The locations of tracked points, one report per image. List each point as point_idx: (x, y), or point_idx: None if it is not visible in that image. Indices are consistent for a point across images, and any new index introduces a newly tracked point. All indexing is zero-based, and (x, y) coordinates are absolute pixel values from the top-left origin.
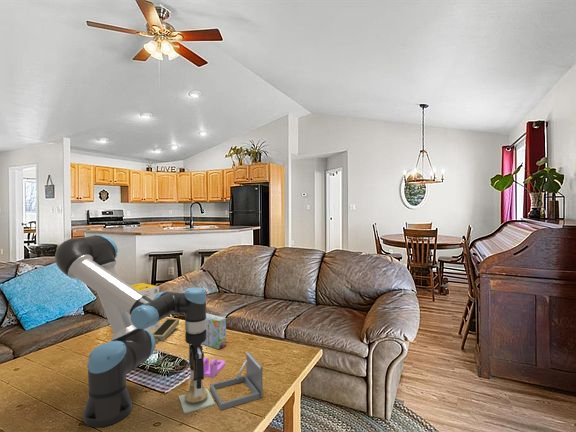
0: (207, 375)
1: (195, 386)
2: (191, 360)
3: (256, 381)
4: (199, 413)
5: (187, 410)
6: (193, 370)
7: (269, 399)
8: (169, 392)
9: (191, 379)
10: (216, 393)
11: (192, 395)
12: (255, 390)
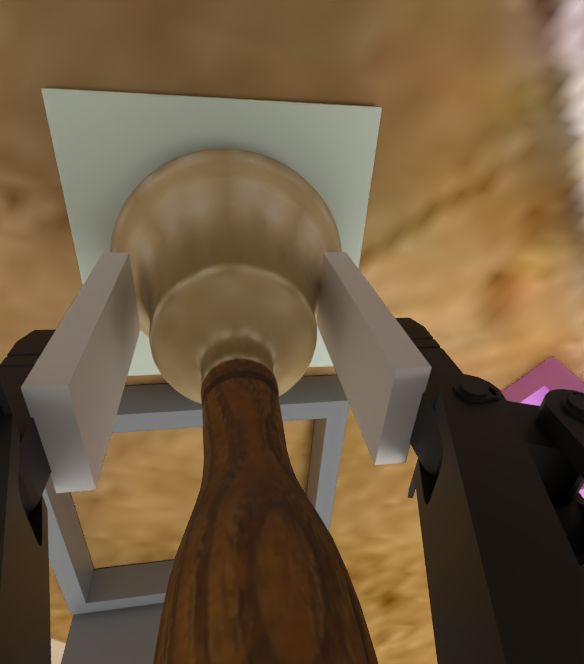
0: (512, 394)
1: (67, 326)
2: (494, 617)
3: (136, 657)
4: (13, 233)
5: (65, 131)
6: (396, 409)
7: (52, 610)
8: (529, 32)
9: (351, 304)
10: (185, 420)
11: (157, 236)
12: (114, 603)
